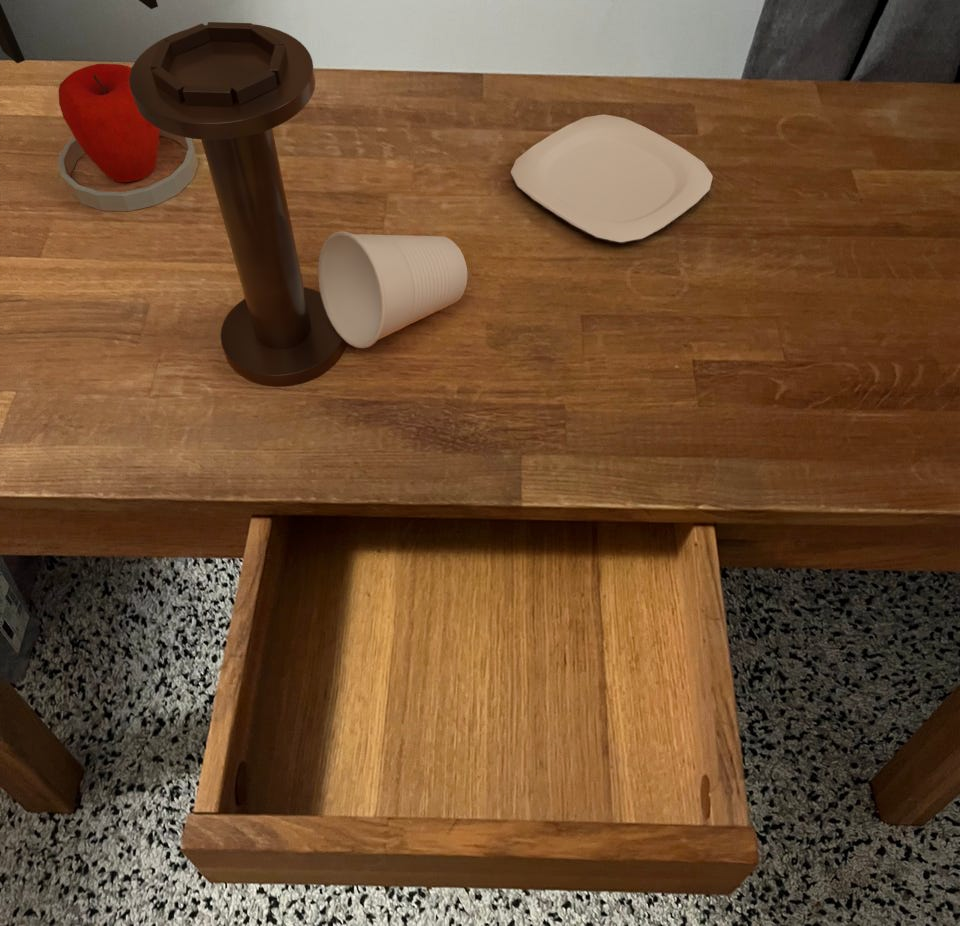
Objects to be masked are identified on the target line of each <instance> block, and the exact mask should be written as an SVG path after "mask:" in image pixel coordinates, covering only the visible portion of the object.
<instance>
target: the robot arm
mask: <svg viewBox="0 0 960 926" xmlns="http://www.w3.org/2000/svg"><path fill="white" fill-rule="evenodd" d="M138 1H139V2H140V3H142V4H143V5H145V6H146V8H149V9H150V10H154V9H156V8H158V7H159V4H158V1H157V0H138ZM0 49H1V51H2V52H3V53H4V54H6V55H7V56H8V57H9V58H10V59H11V60H12V61H13V62H15V64H20V63H22V62H25V61H26V59H25V57H24V54H23V51H22V50H21V47H20V45H19V43H18V40H17V38H16V36H15V34H14V31H13V29H12V27H11V24H10V22H9V20H8V17H7V16H6V13H5V10H4V9H3V6H2V4H1V3H0Z"/></svg>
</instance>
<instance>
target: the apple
mask: <svg viewBox="0 0 960 926" xmlns="http://www.w3.org/2000/svg"><path fill="white" fill-rule="evenodd" d="M131 69H132V67H131V66H128V65H124V64H122V63H95V64H91V65H87V66H84V67H81V68H79V69H77V70H75V71H73V72H71V73H70V74H69V75H68V76H67V77H65V78H64V79H63V80H62V81H61V82H60V84H59V87H58V90H57V91H58V105H59V108H60V111H61V114H62V118H63V120H64V121H65V123H66V125H67V127H68V128H69V130H70V132H71V133H72V135H73V137H75V139H76V140H77V142H78V143H79V144H80V146H81V147H82V149H83V150H84V152H85V155H86V156H87V157H88V158H89V159H90V160H91V161H92V162H93V163H94V165H95V166H96V167H98V169H99V170H100V171H101V172H102V173H104V174H105V175H106V176H107V177H109V178H110V179H111V180H113V181H115V182H121V183H131V182H136V181H139V180H142V179H144V178H146V177H148V176H149V175H151V174H152V173H153V171H154V170H155V168H156V167H157V161H158V156H159V146H160V135H159V128H157V127H155V126H154V125H152V124H151V123H149V122H148V121H147V120H146V119H145V118H144V117H143V116H142V115H141V114H140V112H139V111H138V109H137V107H136V104H135V102H134V99H133V96H132V93H131V90H130V85H129V76H130V72H131Z"/></svg>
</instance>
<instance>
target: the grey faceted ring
mask: <svg viewBox="0 0 960 926" xmlns="http://www.w3.org/2000/svg"><path fill="white" fill-rule="evenodd" d="M159 137H163V138H167V139H169V140H172V141H176V142H177V143H178V144H180V145H181V146H182V147H183V148H185V150H187V151H186V154H185V157H184V160H183V162H182V163H181V164H180V165H179V166H178V167H177V168H176V169H175V170H174V171H173V172H172V173H171V174H170V175H169V176H167V177H165V178H163V179H160V180H159V181H157V182H155V183H153V184H150V185H148V186H144V187H140V188H135V189H130V190H126V191H110V190H109V191H107V190H103V191H102V190H96V189H93V188H90V187H88V186H84V185H81V184H78V182H76V181H75V180H74V179H73V178H72V177H71V175H72V173H73V171H74V168H75V167H76V164H77V162H78V161H79V160H80V159H81V158H82V157H83V156H85V155H86V153H85V152H84V150H83V149H82V147H81V146H80V144H79V143H78V142H77V140H76V139H75V137H74V136H73V137H72V138H71V139H69V140H68V141H67V142H65V143H64V145H63V148H62V149H61V152H60V154H59V155H58V158H57V164H58V170H59V175H60V177H61V180H62V182H63V184H64V186H65V189H66V191H67V192H68V193H69V194H70V195H71V196H72V197H73V198H74V199H75V200H76V201H78V202H79V203H80V204H81V205H83V206H87V207H90V208H93V209H97V210H99V211H102V212H133V211H137V210H141V209H147V208H150V207H151V208H152V207H154V206H158V205H160V204H161V203H163V202H165V201H168V200H169V199H171V198H174V197H175V196H177V195H179V194H180V193H181V192H183V190H184V189H185V188H186V187H187V186H189V184H190V183H191V182H192V181H193V180H194V179H195V175H196V173H197V169H198V167H199V160H198V156H197V153H196V149H195V146H194V143H193V140H192V138H186V137H181V136H177V135H174V134H171V133H168V132H165V131H163V130H161V129H159Z"/></svg>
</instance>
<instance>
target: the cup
mask: <svg viewBox="0 0 960 926" xmlns="http://www.w3.org/2000/svg"><path fill="white" fill-rule="evenodd" d="M317 279H318V280H317V281H318V289H319V292H320V295H321V298H322V302H323V306H324V308H325V311H326V313H327V316H328V318H329V320H330V322H331V324H332V325H333V327H334V328H335V330H336V331H337V333H338V334H339V335H340V336H341V337H342V339H343V340H345V341H346V344H348V345H350V346H352V347H354V348H358V349H367V348H370V347H372V346H373V345H374V344H376V343H377V341H380V340H381V339H383V338H386V337H387V336H390V335H391V334H393V333H396V332H398V331H399V330H401V329H404V328H405V327H407V326H410V325H411V324H414V323H416V322H418V321H420V320H422V319H424V318H426V317H429V316H431V315H433V314H434V313H437V312H438V311H441V310H444V309H445V308H448V307H449V306H451V305H453V304H455V303H457V302H459V301H460V300H461V299H462V297H463V295H464V293H465V291H466V288H467V285H468V266H467V263H466V259H465V256H464V254H463V252H462V250H461V248H460V247H459V246H458V245H457V243H455V242H454V241H453V240H452V239H451V238H450V237H449V238H448V237H447V236H444V235H408V234H407V235H404V234H403V235H400V234H396V235H395V234H368V233H366V234H365V233H352V232H348V231H345V230H343V231H342V230H341V231H340V230H338V231H336V232H333V233H331V234H330V235H329V236H328V237H327V238H326V239H325V241H324V243H323V244H322V246H321V249H320V252H319V257H318V262H317Z"/></svg>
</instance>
